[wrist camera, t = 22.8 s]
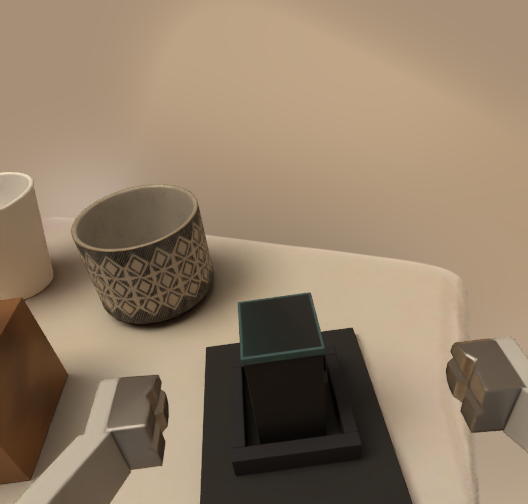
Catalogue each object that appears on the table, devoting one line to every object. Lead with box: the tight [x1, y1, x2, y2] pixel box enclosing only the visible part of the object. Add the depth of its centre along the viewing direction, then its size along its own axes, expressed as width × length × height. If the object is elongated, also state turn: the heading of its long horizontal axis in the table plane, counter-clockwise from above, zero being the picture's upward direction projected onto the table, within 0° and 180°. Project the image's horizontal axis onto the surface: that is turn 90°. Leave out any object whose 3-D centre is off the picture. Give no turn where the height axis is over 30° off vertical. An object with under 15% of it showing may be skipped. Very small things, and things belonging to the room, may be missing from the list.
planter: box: [71, 184, 213, 324], centre depth 46 cm, size 13×13×10 cm
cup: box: [0, 172, 53, 300], centre depth 50 cm, size 12×12×12 cm
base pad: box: [200, 328, 412, 504], centre depth 34 cm, size 16×14×3 cm
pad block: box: [238, 292, 326, 445], centre depth 31 cm, size 5×5×10 cm
